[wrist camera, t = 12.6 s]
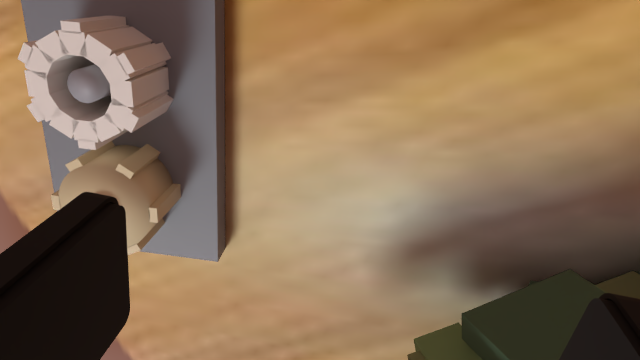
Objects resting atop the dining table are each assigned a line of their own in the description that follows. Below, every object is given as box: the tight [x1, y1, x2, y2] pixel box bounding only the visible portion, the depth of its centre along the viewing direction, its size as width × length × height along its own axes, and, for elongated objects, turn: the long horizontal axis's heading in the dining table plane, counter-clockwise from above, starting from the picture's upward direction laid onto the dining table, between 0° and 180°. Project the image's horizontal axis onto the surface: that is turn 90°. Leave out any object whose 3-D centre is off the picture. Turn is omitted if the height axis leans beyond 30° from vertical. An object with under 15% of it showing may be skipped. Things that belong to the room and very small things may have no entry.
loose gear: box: [18, 15, 173, 150], centre depth 28 cm, size 7×7×5 cm
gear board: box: [21, 0, 225, 262], centre depth 30 cm, size 22×13×8 cm, turn 175°
